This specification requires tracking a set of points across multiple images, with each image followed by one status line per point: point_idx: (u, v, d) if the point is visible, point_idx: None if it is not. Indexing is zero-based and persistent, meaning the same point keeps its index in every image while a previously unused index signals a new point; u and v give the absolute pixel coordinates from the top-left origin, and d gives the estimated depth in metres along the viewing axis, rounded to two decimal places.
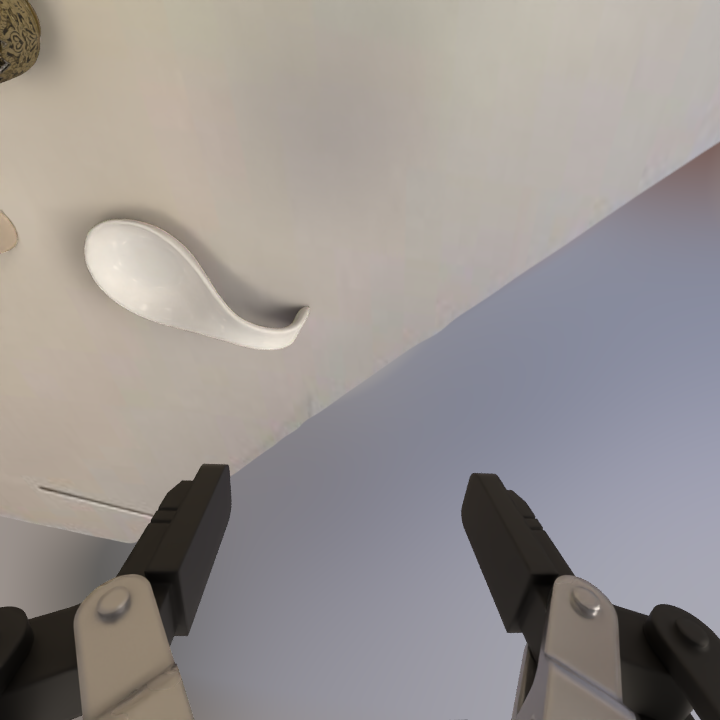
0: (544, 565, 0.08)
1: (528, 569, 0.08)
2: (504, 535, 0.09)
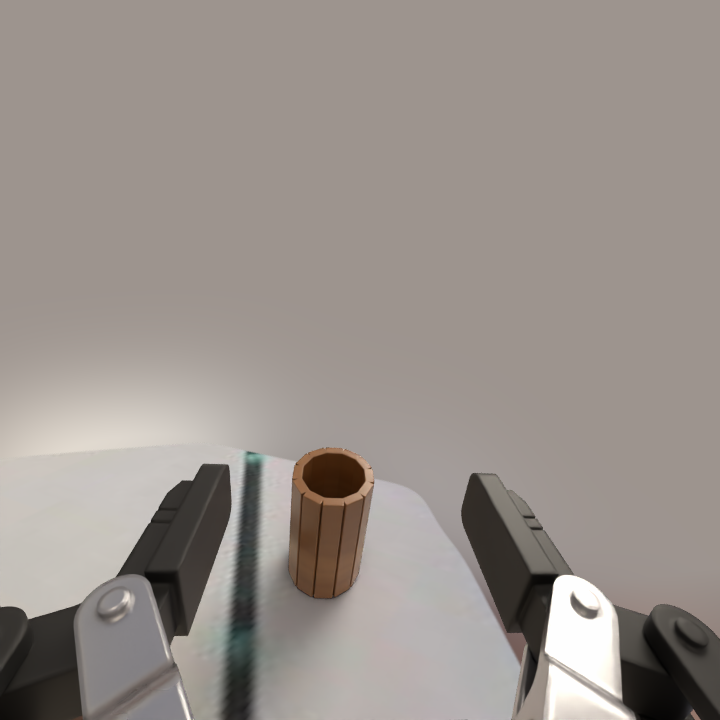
0: (544, 565, 0.08)
1: (528, 569, 0.08)
2: (504, 535, 0.09)
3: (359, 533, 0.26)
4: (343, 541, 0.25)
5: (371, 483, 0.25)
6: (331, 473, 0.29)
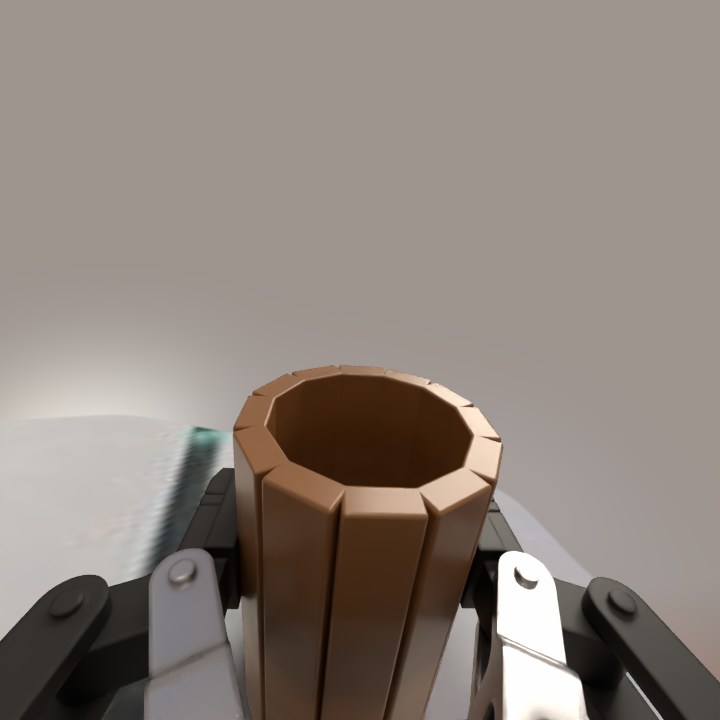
0: (494, 542, 0.09)
1: (477, 546, 0.09)
2: None
3: (456, 607, 0.08)
4: (412, 643, 0.07)
5: (494, 442, 0.08)
6: (354, 434, 0.11)
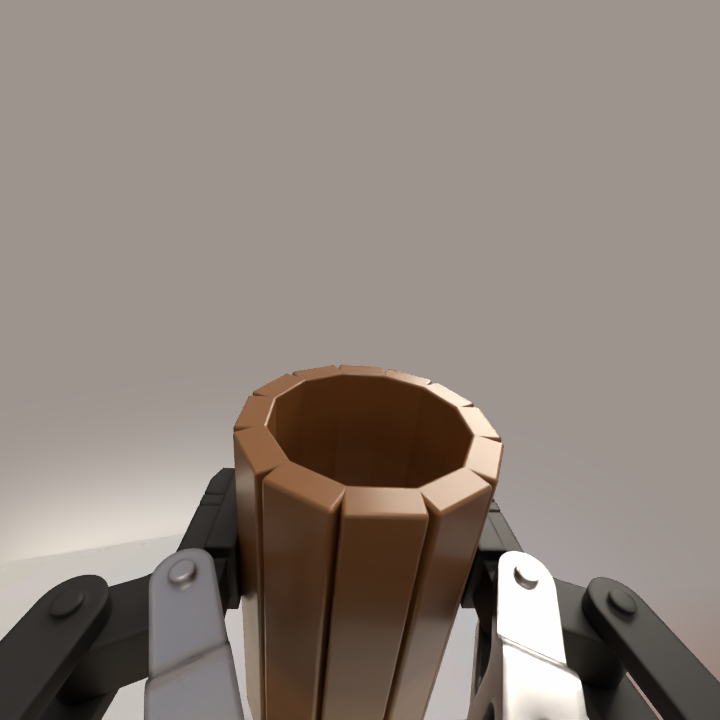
0: (494, 542, 0.09)
1: None
2: None
3: (456, 607, 0.08)
4: (413, 644, 0.07)
5: (495, 442, 0.08)
6: (354, 434, 0.11)
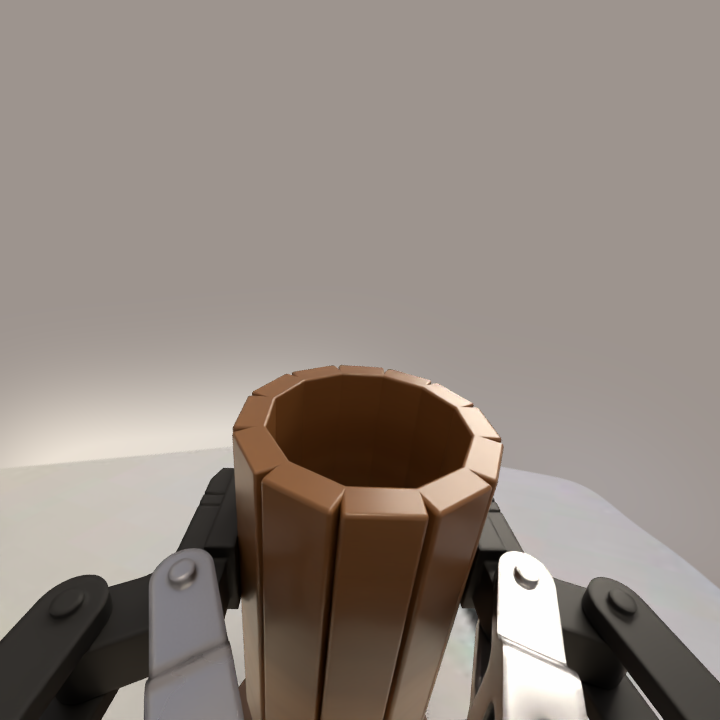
0: (494, 542, 0.09)
1: (478, 546, 0.09)
2: None
3: (456, 607, 0.08)
4: (412, 644, 0.07)
5: (495, 442, 0.08)
6: (354, 434, 0.11)
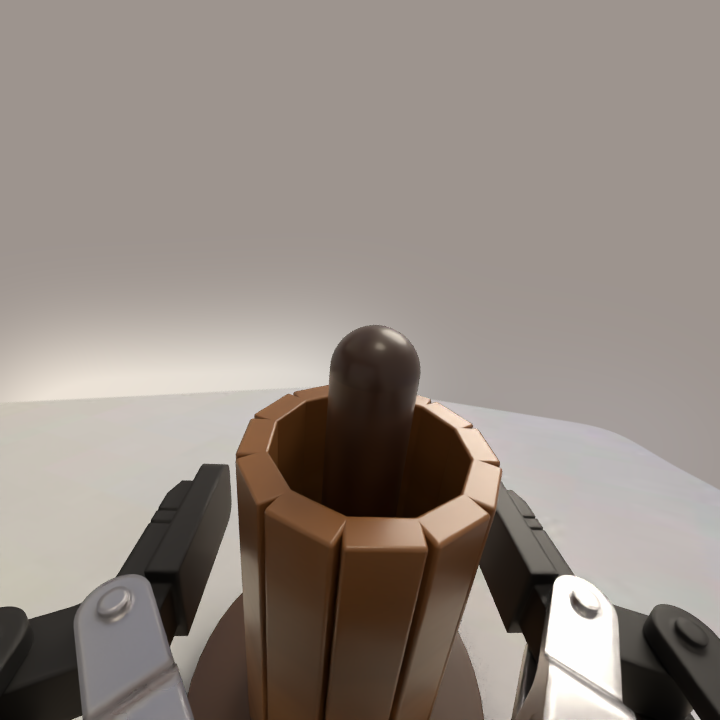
0: (544, 565, 0.08)
1: (528, 569, 0.08)
2: (504, 535, 0.09)
3: (456, 628, 0.08)
4: (413, 668, 0.07)
5: (494, 466, 0.08)
6: None
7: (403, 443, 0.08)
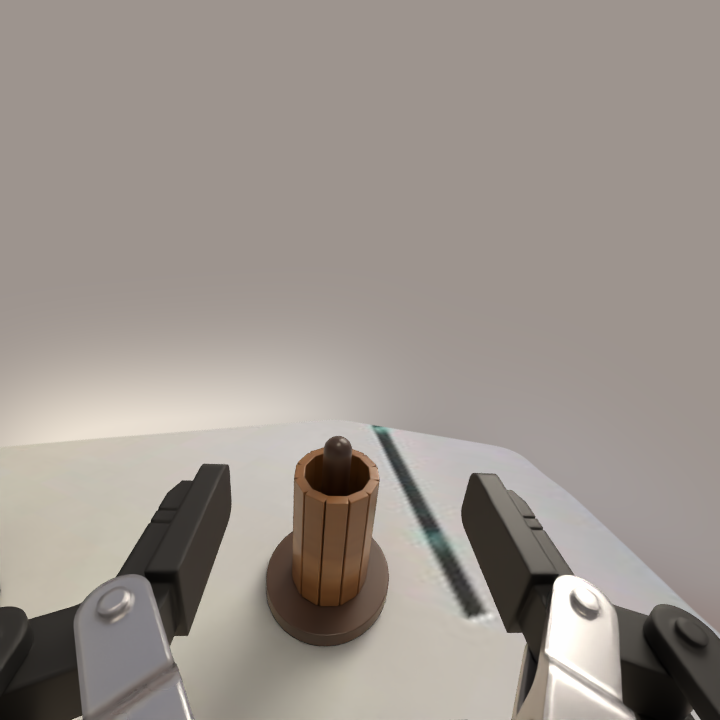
0: (544, 565, 0.08)
1: (528, 569, 0.08)
2: (504, 535, 0.09)
3: (365, 534, 0.24)
4: (349, 543, 0.23)
5: (376, 481, 0.24)
6: None
7: (347, 474, 0.24)
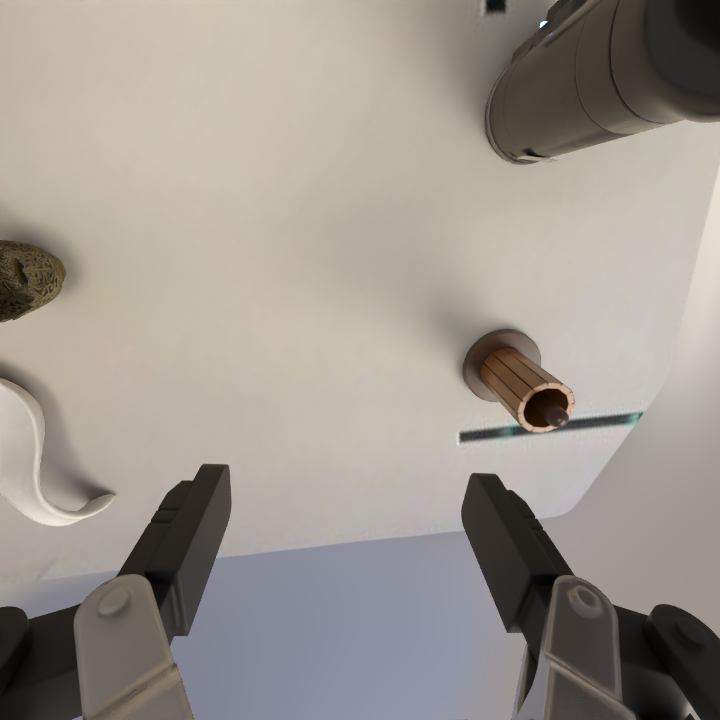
0: (544, 565, 0.08)
1: (528, 569, 0.08)
2: (504, 535, 0.09)
3: (505, 407, 0.40)
4: (502, 398, 0.39)
5: (530, 430, 0.37)
6: (554, 399, 0.38)
7: (540, 415, 0.36)
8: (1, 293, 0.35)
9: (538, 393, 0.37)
